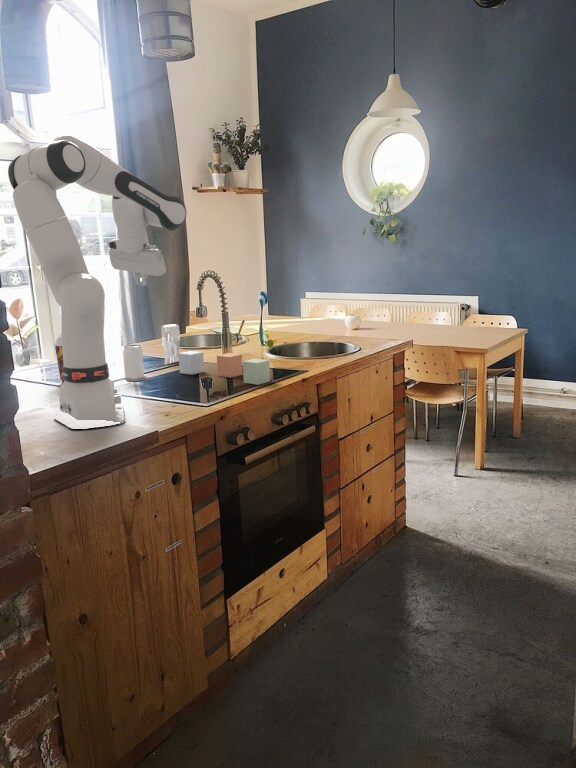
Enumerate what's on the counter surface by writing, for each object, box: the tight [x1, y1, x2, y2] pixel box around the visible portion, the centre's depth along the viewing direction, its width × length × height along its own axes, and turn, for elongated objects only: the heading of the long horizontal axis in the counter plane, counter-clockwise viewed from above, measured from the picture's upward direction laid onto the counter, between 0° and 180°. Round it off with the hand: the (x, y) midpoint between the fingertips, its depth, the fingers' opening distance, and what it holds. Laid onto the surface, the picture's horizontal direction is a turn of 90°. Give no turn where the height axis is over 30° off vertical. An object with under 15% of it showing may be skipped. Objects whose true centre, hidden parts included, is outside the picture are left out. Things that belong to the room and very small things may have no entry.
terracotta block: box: [216, 352, 244, 378], centre depth 226 cm, size 6×6×7 cm
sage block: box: [242, 358, 271, 385], centre depth 214 cm, size 6×6×7 cm
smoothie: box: [54, 334, 64, 384], centre depth 224 cm, size 8×8×20 cm
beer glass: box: [161, 323, 181, 365], centre depth 255 cm, size 7×7×15 cm
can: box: [122, 344, 145, 383], centre depth 227 cm, size 6×6×12 cm
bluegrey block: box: [178, 350, 205, 376], centre depth 232 cm, size 6×6×7 cm
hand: (141, 284), depth 211 cm, fingers closed
